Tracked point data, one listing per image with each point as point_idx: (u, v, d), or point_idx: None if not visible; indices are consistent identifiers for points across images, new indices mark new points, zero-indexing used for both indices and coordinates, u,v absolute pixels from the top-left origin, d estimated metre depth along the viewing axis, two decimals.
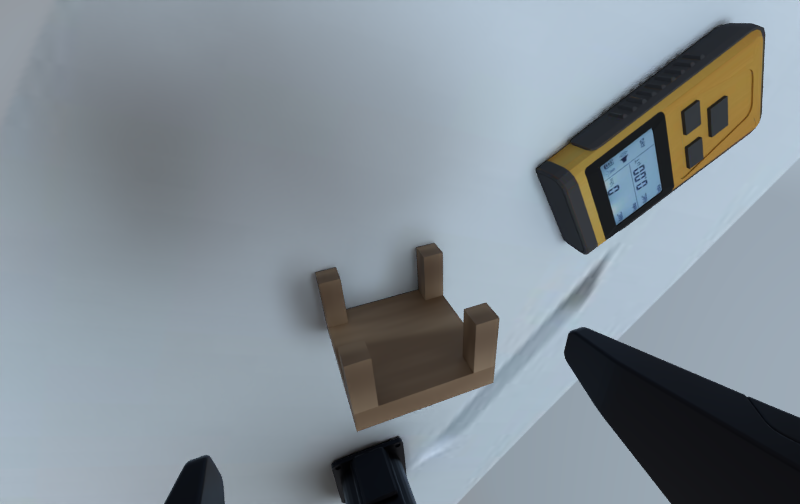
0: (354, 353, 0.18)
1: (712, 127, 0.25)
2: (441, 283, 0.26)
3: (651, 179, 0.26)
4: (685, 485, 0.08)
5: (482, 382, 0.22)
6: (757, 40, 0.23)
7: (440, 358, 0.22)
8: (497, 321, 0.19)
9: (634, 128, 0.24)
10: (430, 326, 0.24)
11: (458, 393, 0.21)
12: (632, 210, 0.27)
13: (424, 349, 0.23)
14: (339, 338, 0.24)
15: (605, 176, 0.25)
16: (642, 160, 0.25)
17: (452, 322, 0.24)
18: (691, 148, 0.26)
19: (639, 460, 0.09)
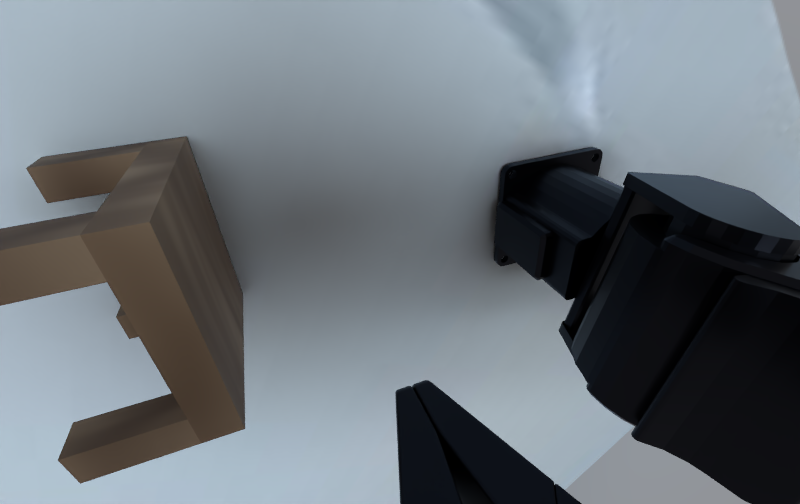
0: None
1: None
2: (109, 159, 0.14)
3: None
4: None
5: (145, 249, 0.09)
6: None
7: None
8: None
9: None
10: None
11: (177, 297, 0.10)
12: None
13: None
14: None
15: None
16: None
17: None
18: None
19: None
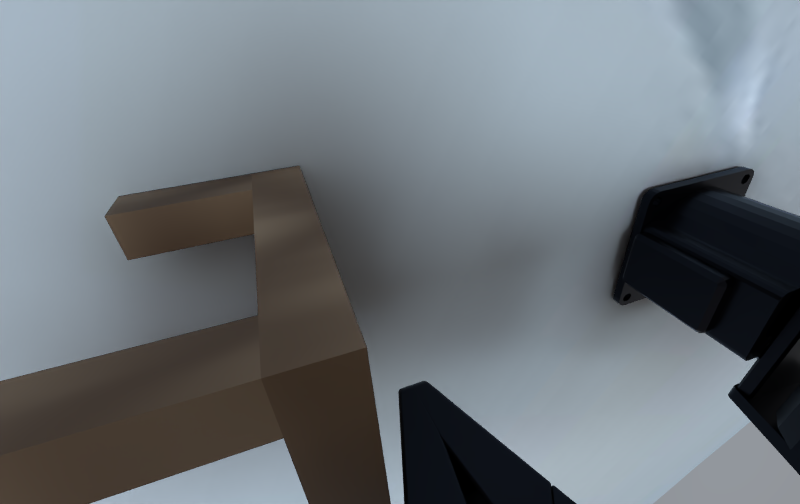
0: None
1: None
2: (211, 200, 0.10)
3: None
4: None
5: (349, 387, 0.06)
6: None
7: None
8: None
9: None
10: None
11: (372, 443, 0.06)
12: None
13: None
14: None
15: None
16: None
17: None
18: None
19: None
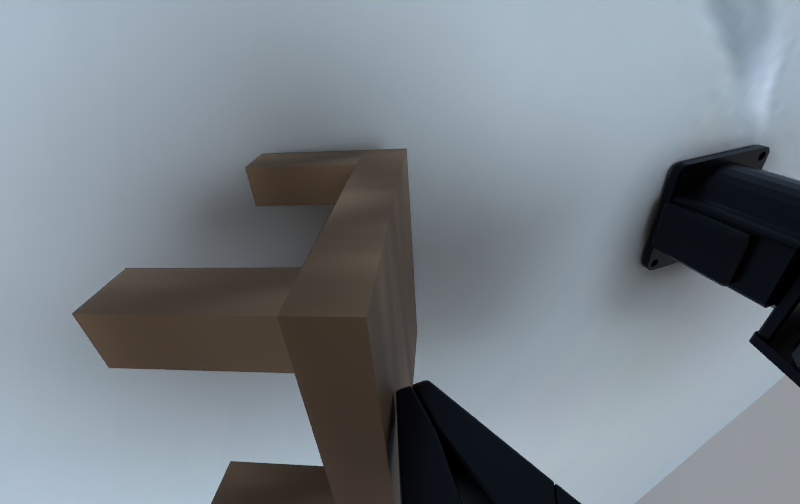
0: None
1: None
2: (322, 168, 0.12)
3: None
4: None
5: (350, 348, 0.06)
6: None
7: None
8: (85, 318, 0.06)
9: None
10: None
11: (372, 408, 0.07)
12: None
13: None
14: None
15: None
16: None
17: None
18: None
19: None
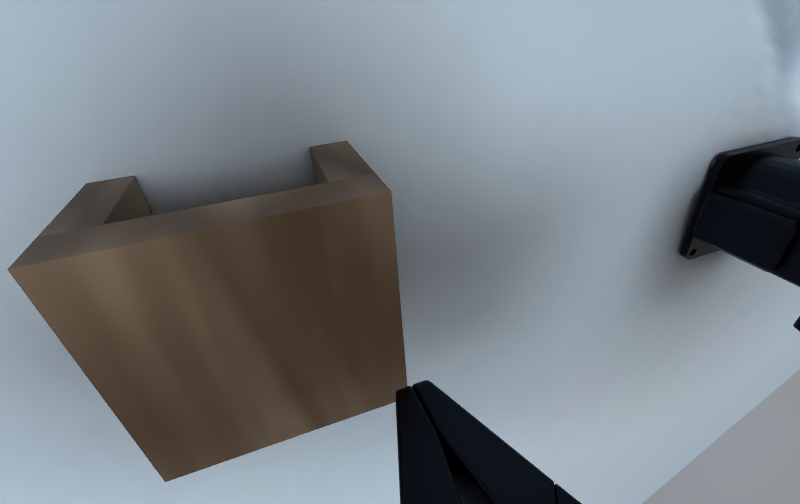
0: None
1: None
2: (323, 173, 0.11)
3: None
4: None
5: (34, 287, 0.08)
6: None
7: None
8: None
9: None
10: None
11: (68, 343, 0.09)
12: None
13: None
14: None
15: None
16: None
17: None
18: None
19: None
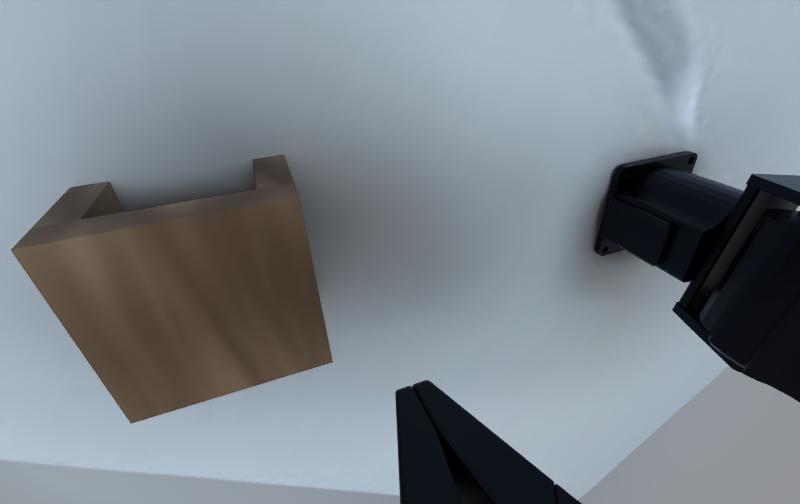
0: None
1: None
2: None
3: None
4: None
5: (29, 263, 0.11)
6: None
7: None
8: None
9: None
10: None
11: (53, 306, 0.12)
12: None
13: None
14: None
15: None
16: None
17: None
18: None
19: None
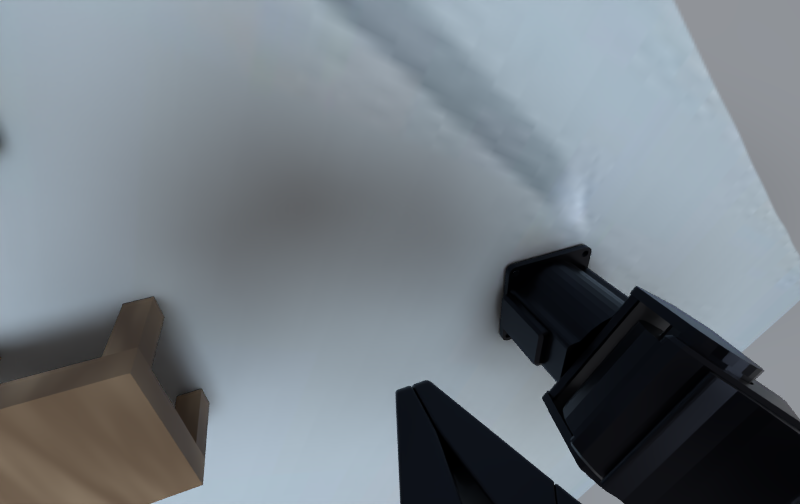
0: None
1: None
2: (109, 340, 0.16)
3: None
4: None
5: None
6: None
7: None
8: None
9: None
10: None
11: None
12: None
13: None
14: None
15: None
16: None
17: None
18: None
19: None
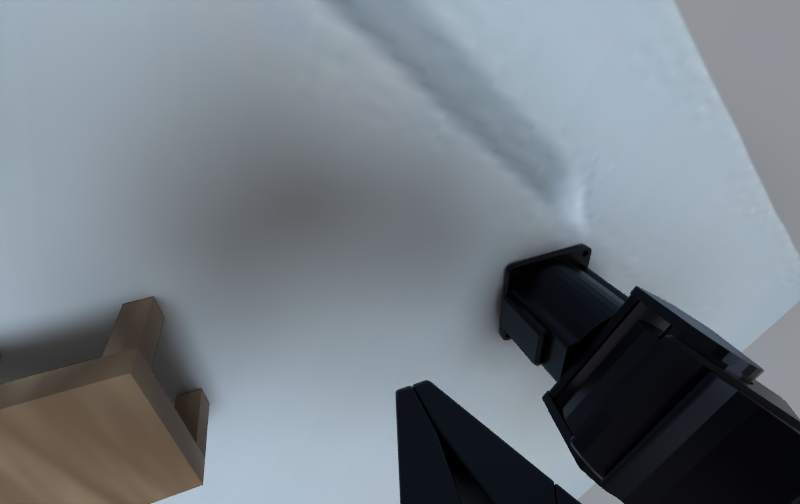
0: None
1: None
2: (109, 340, 0.16)
3: None
4: None
5: None
6: None
7: None
8: None
9: None
10: None
11: None
12: None
13: None
14: None
15: None
16: None
17: None
18: None
19: None
